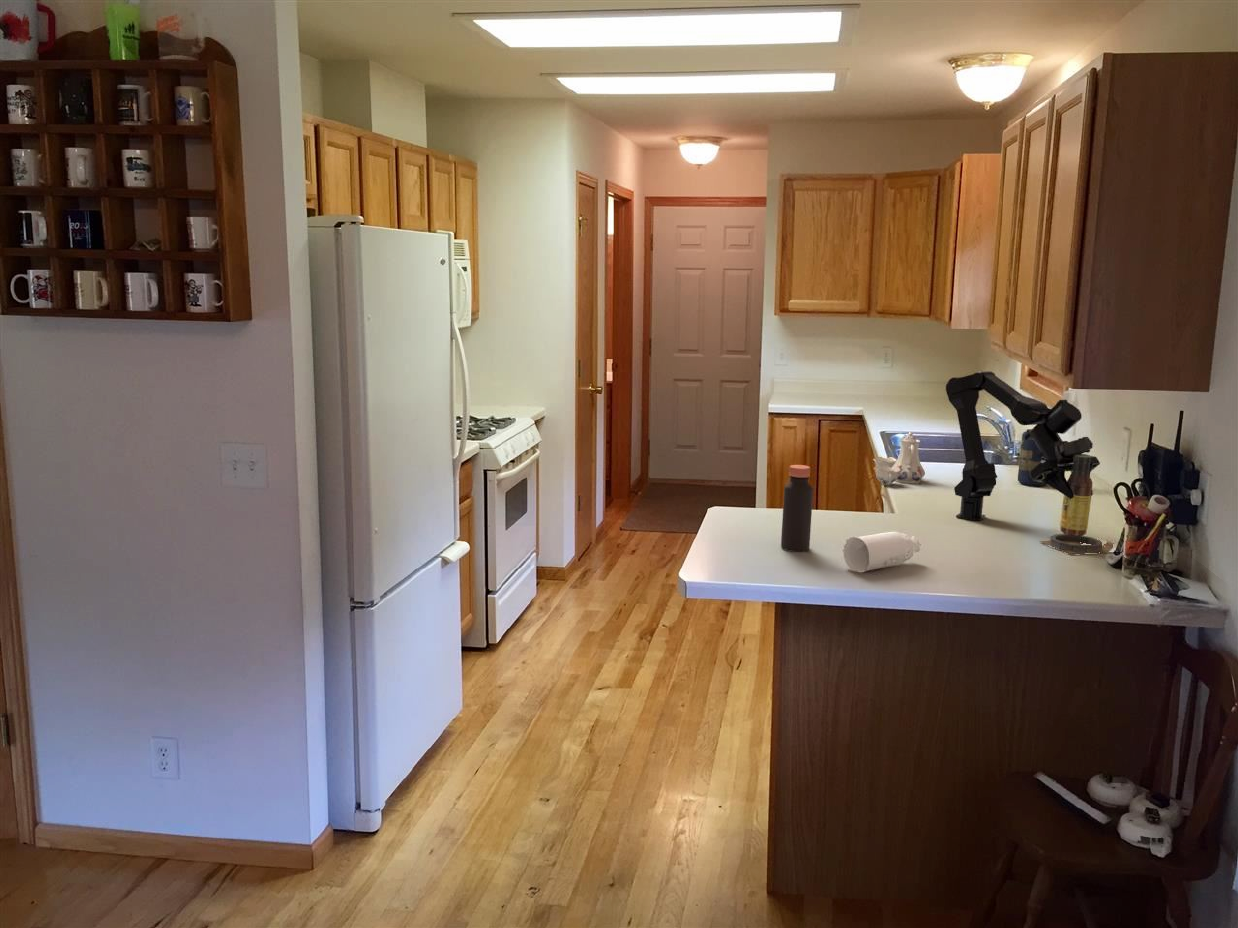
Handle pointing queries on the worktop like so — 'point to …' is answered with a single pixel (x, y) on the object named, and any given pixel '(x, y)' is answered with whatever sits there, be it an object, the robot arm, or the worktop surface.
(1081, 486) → the sauce bottle
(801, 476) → the vinegar
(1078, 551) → the cup bracket
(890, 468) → the chinaware
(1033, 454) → the candle
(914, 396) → the worktop surface
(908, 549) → the white bottle
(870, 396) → the worktop surface
